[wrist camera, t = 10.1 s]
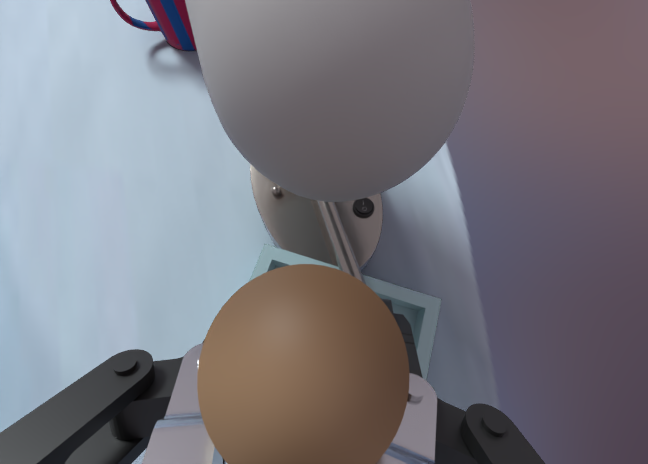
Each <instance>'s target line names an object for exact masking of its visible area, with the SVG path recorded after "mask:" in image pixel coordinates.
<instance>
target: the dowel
mask: <svg viewBox="0 0 648 464" xmlns="http://www.w3.org/2000/svg"><path fill="white" fill-rule="evenodd" d="M409 375H410V373H409V362H408V355H407V351H406V346H405V342H404V339H403V336H402V334H401V331H400V328H399V326H398V324H397V322H396V320H395V318H394V316H393V315H392V313H391V312H390V310H389V309H388V307H387V306H386V305H385V303H384V302H383V301H382V300H381V298H380V297H379V296H378V295H377V294H376V293H375V292H374V291H373V290H372V289H371V288H369V287H368V286H367V285H366V284H364V283H363V282H361V281H360V280H359V279H357V278H355V277H353V276H352V275H350V274H348V273H346V272H343V271H341V270H338V269H335V268H331V267H328V266H323V265H315V264H296V265H288V266H284V267H280V268H276V269H273V270H271V271H268V272H266V273H263V274H262V275H260V276H258V277H256V278H254V279H252V280H251V281H250V282H248V283H247V284H245V285H244V286H243V287H241V288H240V289H239V290H238V291H237V292H236V293H235V294H234V295H232V296H231V298H230V299H229V300H228V301H227V302H226V303H225V304H224V306H223V307H222V308H221V310H220V311H219V313H218V314H217V316H216V317H215V319H214V321H213V323H212V325H211V326H210V328H209V330H208V333H207V335H206V338H205V341H204V343H203V347H202V350H201V354H200V358H199V365H198V373H197V392H198V401H199V407H200V411H201V415H202V420H203V422H204V425H205V428H206V430H207V433H208V435H209V437H210V439H211V441H212V442H213V444H214V446H215V448H216V449H217V451H218V452H219V453H220V455H221V456H222V458H223V459H224V460H225V461H226V462H227V463H228V464H375V463H376V462H378V460H379V459H380V458H381V457H382V455H383V454H384V453H385V452H386V450H387V449H388V448H389V446H390V444H391V442H392V441H393V439H394V437H395V436H396V434H397V431H398V429H399V427H400V424H401V422H402V419H403V416H404V412H405V409H406V405H407V399H408V393H409Z"/></svg>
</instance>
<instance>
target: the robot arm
mask: <svg viewBox="0 0 648 464" xmlns="http://www.w3.org/2000/svg"><path fill="white" fill-rule="evenodd" d="M381 300H382V301H383V302H384V303H385V305H386V306H387V307H388V309H389V310H390V312H391V313H392V315H393V316H394V318H395V320H396V322H397V324H398V326H399V328H400V331H401V334H402V336H403V339H404V342H405V346H406V351H407V355H408V362H409V373H410V375H409V393H408V399H407V405H406V409H405V412H404V416H403V419H402V422H401V424H400V427H399V429H398V431H397V434H396V436H395V437H394V439H393V441H392V442H391V444H390V446H389V448H388V449H387V450H386V452H385V453H384V454H383V455H382V457H381V458H380V459H379V460H378V462H376V463H375V464H545V463H544V461H543V460H542V459H541V458H540V456H539V455H538V454H537V453H536V451H535V450H534V449H533V447H532V446H531V445H530V444H529V442H528V441H527V440H526V439H525V437H524V436H523V435H522V433H521V432H520V431H519V430H518V428H517V427H516V426H515V425H514V423H513V422H512V421H511V420H510V419H509V418H508V417H507V416H506V415H505V414H504V413H502V412H501V411H499V410H498V409H496V408H494V407H492V406H489V405H486V404H474V405H471V406H470V407H469V408H468V409H467V411H466V412H465V411H463V410H461V409H459V408H456V407H454V406H452V405H450V404H447V403H446V402H444V401H442V400H440V399H439V398H437V396H436V393H435V390H434V389H433V387H432V386H431V385H430V384H429V383H428V382H427V381H426V380H425V379H423V377H422V373H421V368H420V364H419V359H418V355H417V351H416V346H415V342H414V337H413V333H412V329H411V324H410V323H409V322H408V320H407V319H406V318H405V316H404V315H403V314H396V313H393V308H392V302H391V300H389V299H382V298H381ZM204 341H205V340H204ZM204 341H203V343H204ZM203 343H202V344H199V345H197V346H195V347H193V348H192V349H190V350H189V351H188V352H187V353H186V354H185V356H184V357H181V358H178V359H171V360H162V361H153V358H152V356H151V355H150V354H149V353H148V352H146V351H144V350H127V351H124V352H121V353H118V354H116V355H114V356H112V357H111V358H109V359H108V360H106V361H105V362H103V363H102V364H100V365H99V366H98V367H96V368H95V369H93V370H92V371H90V372H89V373H87V374H86V375H84V376H83V377H81V378H80V379H78V380H77V381H76V382H74V383H73V384H71V385H70V386H68V387H67V388H65V389H64V390H62V391H61V392H59V393H58V394H57V395H55V396H54V397H52V398H51V399H49V400H48V401H46V402H45V403H43V404H42V405H40V406H39V407H37V408H36V409H35V410H33V411H32V412H30V413H29V414H27V415H26V416H24V417H23V418H21V419H20V420H18V421H17V422H16V423H14V424H13V425H11V426H10V427H8V428H7V429H5V430H4V431H2V432H1V433H0V464H131V463H132V462H133V461H134V460H135V459H136V458H137V457H138V456H139V455H140V454H141V453H142V452H143V451H144V450H145V449H146V448H147V450H146V453H145V456H144V459H143V462H142V464H226V461H225V460H224V459H223V458H222V456H221V455H220V453H219V452H218V451H217V449H216V448H215V446H214V444H213V442H212V441H211V439H210V437H209V435H208V433H207V430H206V428H205V425H204V422H203V420H202V415H201V411H200V407H199V401H198V392H197V373H198V365H199V358H200V354H201V350H202V347H203Z"/></svg>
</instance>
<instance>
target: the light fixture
mask: <svg viewBox="0 0 648 464" xmlns="http://www.w3.org/2000/svg"><path fill="white" fill-rule="evenodd" d="M185 2H186V7H187V11H188V15H189V19H190V23H191V27H192V31H193V36H194V40H195V44H196V48H197V52H198V56H199V61H200V65H201V69H202V73H203V77H204V81H205V84H206V87H207V90H208V93H209V96H210V98H211V101H212V104H213V106H214V109H215V111H216V113H217V115H218V117H219V120H220V122H221V124H222V126H223V128H224V130H225V132H226V134H227V135H228V137H229V138H230V140H231V141H232V143H233V144H234V145H235V147H236V148H237V149H238V150H239V152H240V153H241V154H242V155H243V157H244V158H245V159H246V160H247V161H248V162H249V163H250V174H251V183H252V189H253V194H254V198H255V201H256V204H257V207H258V210H259V213H260V215H261V218H262V220H263V223H264V225H265V227H266V229H267V231H268V233H269V235H270V237H271V239H272V241H273V242H274V244H275V245H276V247H277V248H280V249H283V250H286V251H289V252H293V253H296V254H299V255H302V256H305V257H309V258H312V259H315V260H318V261H321V262H325V263H328V264H331V265H334V266H337V267H339V270H341V271H343V272H346V273H348V274H350V275H352V276H353V277H355V278H357V279H359V280H360V281H361V282H363V283H364V284H366V283H365V280H364V277H363V275H362V272H361V271H362V270H363V269H364V267H365V266H366V265H367V264H368V262H369V260H370V259H371V257H372V255H373V253H374V251H375V249H376V247H377V244H378V242H379V238H380V234H381V229H382V221H383V207H382V199H381V194H380V193H381V192H384V191H386V190H388V189H390V188H392V187H394V186H396V185H398V184H400V183H401V182H403V181H405V180H406V179H408V178H409V177H410V176H412V175H413V174H415V173H416V172H417V171H418V170H420V169H421V168H422V167H423V166H424V165H425V164H426V163H428V162H429V161H430V160H431V159H432V157H433V156H434V155H435V154H436V153H437V152H438V151H439V150H440V148H441V147H442V146H443V145H444V143H445V142H446V140H447V139H448V137H449V136H450V134H451V132H452V131H453V129H454V127H455V125H456V123H457V122H458V120H459V117H460V115H461V113H462V110H463V107H464V104H465V101H466V98H467V94H468V91H469V87H470V82H471V78H472V72H473V65H474V23H473V15H472V7H471V1H470V0H185Z"/></svg>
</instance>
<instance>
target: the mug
mask: <svg viewBox="0 0 648 464" xmlns="http://www.w3.org/2000/svg"><path fill="white" fill-rule="evenodd" d="M110 1H111V4H112V6H113V7H114V9H115V11H116V12H117V13H118V14H119V16H120V17H121V18H122V19H123V20H124V21H125V22H127V23H129V24H130V25H132V26H134V27H137V28H139V29H143V30H148V31H161V32H162V33H163V35H164V37H165V39H166V40H167V42H168V43H169V44H170V45H171V46H173V47H175V48H177V49H180V50H186V51H194V50H197V48H196V44H195V40H194V36H193V31H192V27H191V23H190V19H189V15H188V11H187V7H186V2H185V0H146V2H147V4H148V6H149V8H150V10H151V12H152V14H153V16H154V18H155V20H156V21H155V22H143V21H140V20H137V19H134V18H132V17H130V16H129V15H127V14H126V13H125V12H124V11H123V10H122V9H121V7H120V6H119V5H118V3H117V2H116V0H110Z"/></svg>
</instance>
